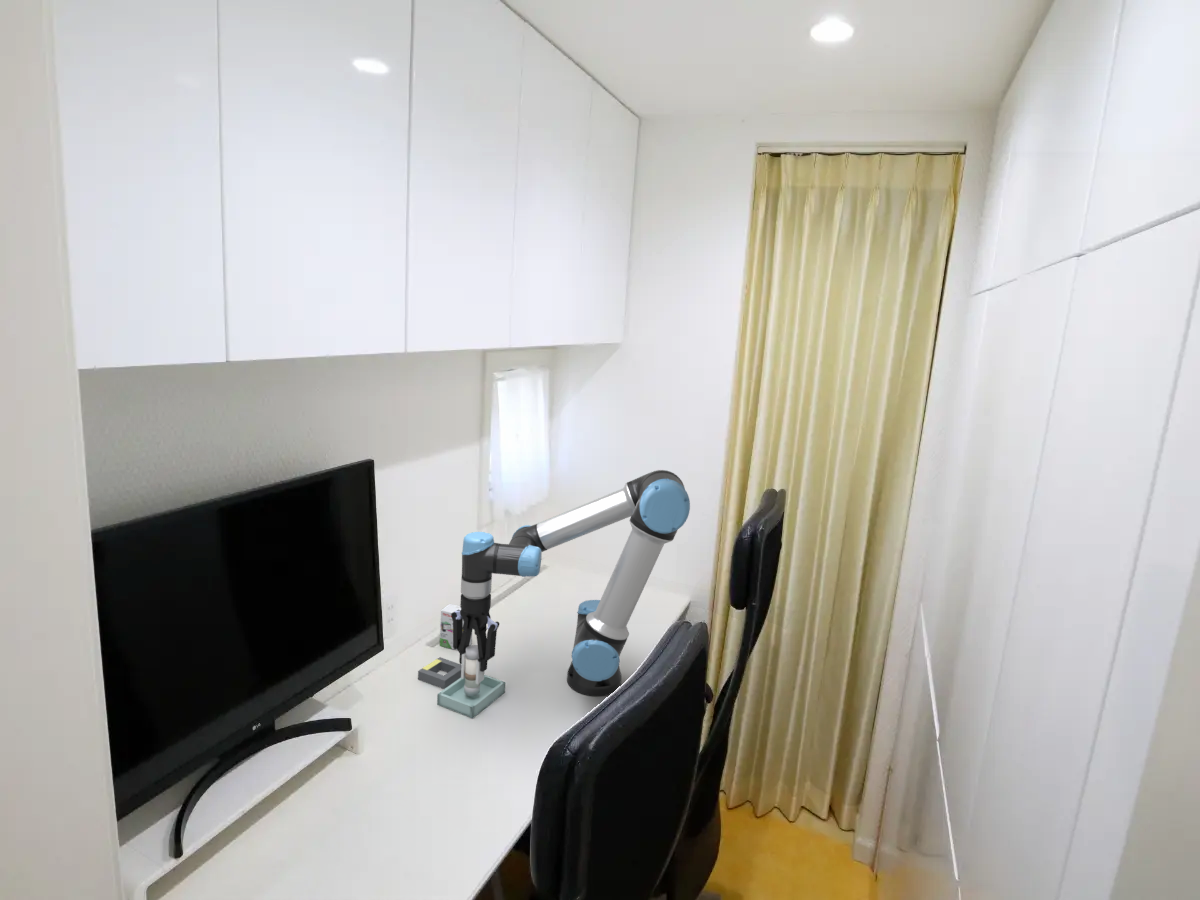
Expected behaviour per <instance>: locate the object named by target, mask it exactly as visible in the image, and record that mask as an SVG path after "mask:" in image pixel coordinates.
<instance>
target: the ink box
mask: <svg viewBox="0 0 1200 900" xmlns="http://www.w3.org/2000/svg"><path fill="white" fill-rule="evenodd" d="M457 610H461V607H460V605H458V604H452V603H449V604H447V605H446V606H444V607H443V608H442V609H441V610H440V626H439V627H440V629H439V630H440V631H439V646H440V647H443V648H446V649H451V650H455V651H458V650H457V649H454V648H453V620H452V616H451V614H452V613H453V612H455V611H457ZM463 624H464V621H463ZM470 645H473V633H472V634H471V639H470V643H469V646H470Z"/></svg>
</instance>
